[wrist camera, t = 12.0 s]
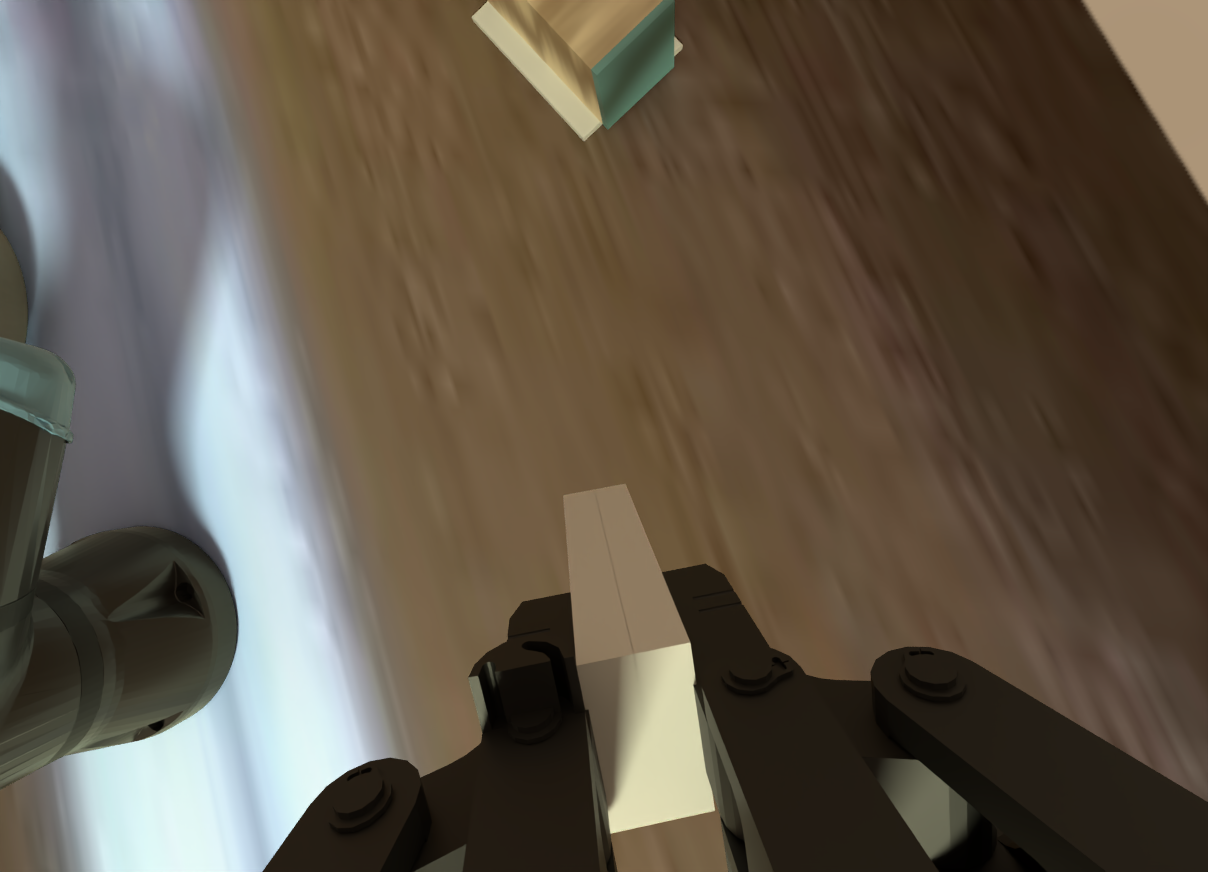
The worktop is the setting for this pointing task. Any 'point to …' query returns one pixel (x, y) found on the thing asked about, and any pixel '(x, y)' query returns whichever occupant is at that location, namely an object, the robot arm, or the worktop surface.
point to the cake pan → (12, 295)
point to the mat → (539, 71)
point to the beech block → (599, 46)
